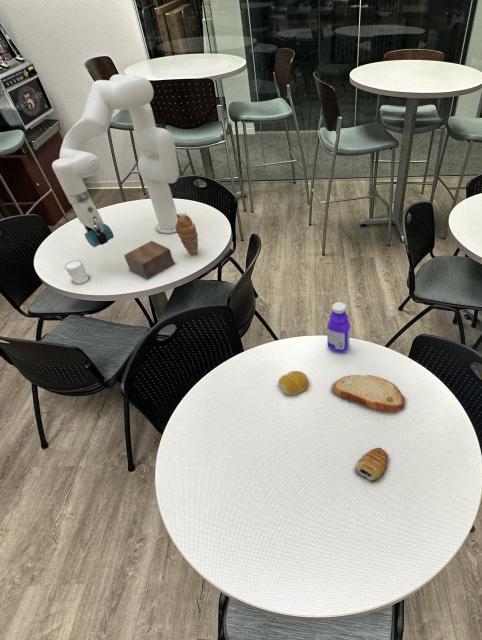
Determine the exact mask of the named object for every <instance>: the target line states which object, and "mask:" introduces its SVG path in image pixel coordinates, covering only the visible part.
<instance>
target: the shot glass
mask: <svg viewBox="0 0 482 640" xmlns="http://www.w3.org/2000/svg"><path fill="white" fill-rule="evenodd" d="M64 269H65V270H66V272H67V273H68V275H69V276H70V278H71V279H72V281H73V282H74V283H75V284H83V283H85V282H87V281H88V280H89V275H88V272H87V270H86V268H85V265H84V262H83V261H82V260H80V259H76V260H75V259H74V260H71V261H69V262H67V263H66V264H64Z"/></svg>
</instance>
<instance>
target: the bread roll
mask: <svg viewBox="0 0 482 640" xmlns="http://www.w3.org/2000/svg"><path fill="white" fill-rule="evenodd" d="M308 386H309V378H308V376H307V375H306V374H305V373H304V372H303V371H301V370H291V371H289V372H287V373H286V374H284V375H282V376H281V377H280V378H279V379H278V387H279V389H280V390H281V392H282V393H283V394H284V395H289V396H290V395H294V396H295V395H296V394H299V393H301V392H303V391H305V390H306V389H308Z"/></svg>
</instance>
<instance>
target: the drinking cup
mask: <svg viewBox="0 0 482 640" xmlns="http://www.w3.org/2000/svg"><path fill="white" fill-rule="evenodd" d="M102 226H103V227H104V234H105V236H106V238H107V240H108V241H110V240H112V239H114V238H115V235H114V232H113V230H112V229H111V228H110V226H109V225H108V224H107V223H104V225H102ZM96 230H97V232H98V230H99V228H97V229H96ZM96 235H97V234H96V233H95V231H94V230H90V231H88V232H87V231H86V232H85V233H84V237H85V239H86V241H87V242H88V244H89V245H90V246H91V247H93V248H96V247H98V246H101V245H100V243H99V241H98V239H97V237H96Z"/></svg>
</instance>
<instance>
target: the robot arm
mask: <svg viewBox="0 0 482 640" xmlns="http://www.w3.org/2000/svg"><path fill="white" fill-rule="evenodd" d="M154 93H155V92H154V87H153V85H152V83H151V81H150V80H149V79H147V78H146V77H144V76H141V75H131V74H122V73H121V74H119V73H117V74H113V75H112V76H111V77H110V78H109V80H107V79H99V80H98V79H97V80H95V81H94V82H93V83H92V85H91V87H90V89H89V93H88V96H87V98H86V99H87V100H86V103H85V105H84V109H83V112H82V115H81V118H80V119H79V120H78V121H77V122H75V124H74V125H73V126H72V127H71V128H70V129H69V130H68V131H67V132H66V134H65V135H64V138H63V140H62V144H61V145H60V150H59V158H58V159H55V160H53V162H52V163H51V168H52V170H53V172H54V174H55V176H56V179H57V180H58V182H59V185H60V187H61V188H62V190H63V192H64V194H65V197H66V199H67V200H68V203H69V204H70V205H71V206H72V208H73V211H74V213H75V215H76V217H77V219H78V221H79V222H80V223H81V224H82V225H83V227H84V230H85V231H86V233H87V232H88V231H90V230H94V231H95V233H96V234H97V235H96V237H97V239H98V241H99V243H100V245H99V246H104V245H105V244H107V243H108V242H109V240H107V238H106V236H105V234H104V227H103V226H102V225H104V224H105V222H104V221H103V218H102V216H101V214H100V213H99V212H100V211H98V208H97V207H96V205H95V203H94V202H93V200H92V197H91V195H90V192H89V190H88V188H87V185H86V184H85V182H84V178H89V177H92V176H95V175H96V174H98V173H99V171H100V170H101V162H100V159H99V157H98V156H97V155H96V154H94V153H92V152H89V151H84V148H85V147H86V145H87V144H88V143H90V142H91V141H93V140H95V139H98V138H100V137H102V136H104V135H106V134H107V132H108V130H109V127H110V123H111V121H112V117H113V114H114V111H115V110H117V111H118V110H119V111H128V112H129V115H130V118H131V122H132V128H133V132H134V137H135V141H136V145H137V147H138V149H139V150H140V151H143V152H145V153H149V154H155V155H149V154H147V155H142V156H141V157H140V158H139V159H138V161H137V170H138V173H139V175H140V177H141V179H142V180H143V182H144V184H145V187H146V189H147V191H148V195H149V198H150V201H151V205H152V207H153V210H154V213H155V217H156V219H157V222H158V223H157V224H156V230H157V232H159V233H161V234H173V233H177V230H176V228H175V226H176V224H177V221H178V218H177V214H179V215H180V216H182V215H187V216H188V214H187V212H183V213H181V212H178V211H177V208H176V204H175V201H174V198H173V194H172V190H171V187H170V185H169V184H174V183H176V182H177V181H178V179H179V174H180V170H179V161H178V154H177V148H176V143H175V140H174V136H173V135H172V134H171V132H170V131H169V130H168V129H166V128H162V127H157V126H156V123H155V122H156V121H155V119H154V113H153V110H152V107H151V105H150V103H151V102H152V100H153V98H154ZM156 155H157V156H156ZM97 228H99V230H98V232H97V230H96V229H97Z"/></svg>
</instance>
